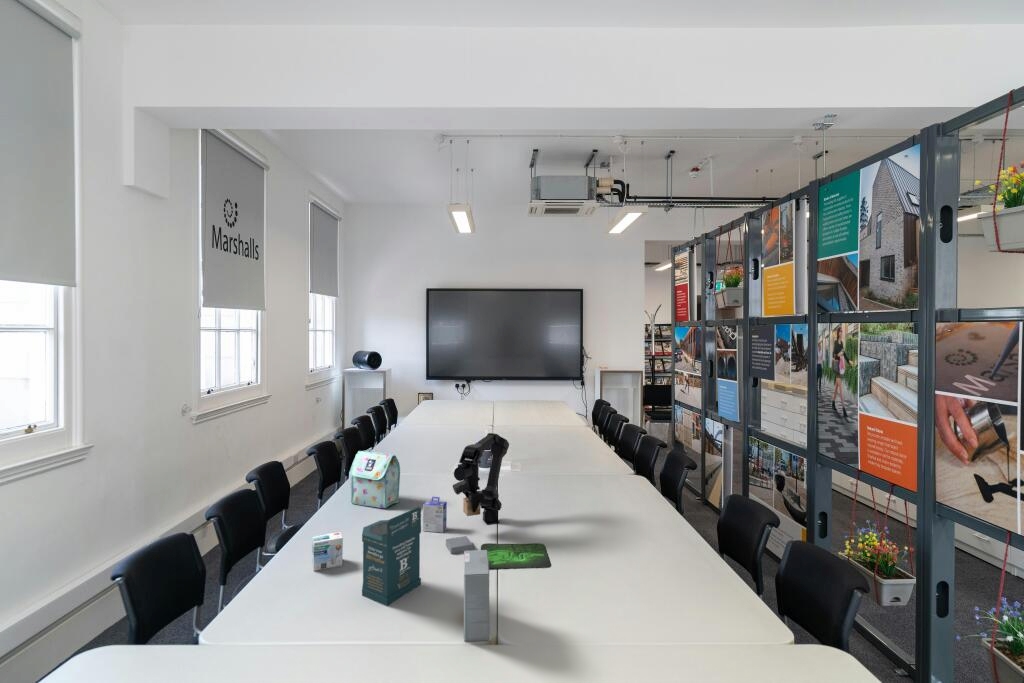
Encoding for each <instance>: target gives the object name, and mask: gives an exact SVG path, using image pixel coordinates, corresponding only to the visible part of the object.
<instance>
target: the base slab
mask: <svg viewBox="0 0 1024 683" xmlns="http://www.w3.org/2000/svg"><path fill="white" fill-rule="evenodd" d="M445 546H446V548H447V549H448V551H449V553H450V555H455V554H460V553H464V551H471V550H474V548H473V543H472V541H471V540H470V539H469V537H468V536H467V535H463V536H458V537H457V536H456V537H452V538H451V537H450V538H445Z"/></svg>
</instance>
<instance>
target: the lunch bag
mask: <svg viewBox="0 0 1024 683" xmlns="http://www.w3.org/2000/svg"><path fill="white" fill-rule="evenodd" d="M349 471H350V473H349V474H350V475H351V477H350V478H351V483H350V485H351V486H350V488H351V490H350V491H351V496H350V503H351V504H354V505H359V506H366V507H373V508H379V509H387V508H389V506H392V505H394V504H397V503H399V502H400V485H401V483H400V482H401V481H400V480H401V466H400V462H399V459H398V458H397V455H395V454H389V453H385V452H378V451H377V452H376V451H368V450H358V451H357V453H356V454H355V457H354V459H353V461H352V464H351V466H350V470H349Z"/></svg>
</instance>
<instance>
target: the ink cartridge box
mask: <svg viewBox="0 0 1024 683" xmlns="http://www.w3.org/2000/svg"><path fill="white" fill-rule="evenodd" d="M436 499H437V500H436ZM440 499H441V498H440V496H432V497H431V500H427V501H425V502H424V503H423V504H422V531H423V532H433V533H444V532H445V531H446V530H447V514H448V512H447V508H448V507H447V506H448V505H447V501H440Z"/></svg>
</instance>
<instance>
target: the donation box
mask: <svg viewBox="0 0 1024 683" xmlns="http://www.w3.org/2000/svg"><path fill="white" fill-rule="evenodd" d="M361 532H362V534H361V542H362V586H361V588H362V589H361V596H363V597H364V598H367V599H369V600H372V601H374V602H376V603H378V604H381V605H383V606H385V607H388V606H390V605H391V604H392V603H394V602H395V601H396V602H397V600H399V599H401V598H402V597H404V596H405V595H407V594H409V593H410V592H412V591H414V590H415V589H417V588H418V587H420V586H421V585H422V578H421V577H420V576H421V575H420V574H421V573H420V571H421V569H420V568H421V567H420V565H421V564H420V563H421V560H420V558H421V557H420V555H421V554H420V552H421V551H420V550H421V549H420V548H421V546H420V545H421V544H420V542H421V540H420V539H421V534H422V508H421V507H420V506H418V507H416V508H413V509H410V510H409V511H406V512H404V513H402V514H399V515H397V516H395V517H392V518H390V519H385V520H384V519H383V520H378V521H375V522H373V523H371V524H368V525H366V526H364V527H363V528H362V531H361Z"/></svg>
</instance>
